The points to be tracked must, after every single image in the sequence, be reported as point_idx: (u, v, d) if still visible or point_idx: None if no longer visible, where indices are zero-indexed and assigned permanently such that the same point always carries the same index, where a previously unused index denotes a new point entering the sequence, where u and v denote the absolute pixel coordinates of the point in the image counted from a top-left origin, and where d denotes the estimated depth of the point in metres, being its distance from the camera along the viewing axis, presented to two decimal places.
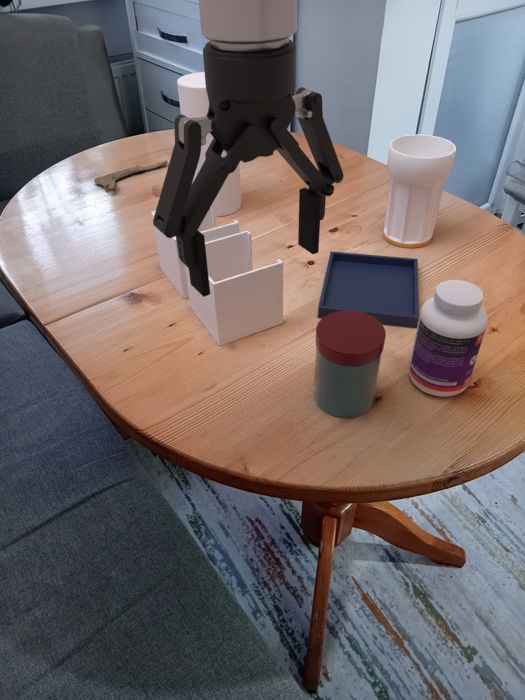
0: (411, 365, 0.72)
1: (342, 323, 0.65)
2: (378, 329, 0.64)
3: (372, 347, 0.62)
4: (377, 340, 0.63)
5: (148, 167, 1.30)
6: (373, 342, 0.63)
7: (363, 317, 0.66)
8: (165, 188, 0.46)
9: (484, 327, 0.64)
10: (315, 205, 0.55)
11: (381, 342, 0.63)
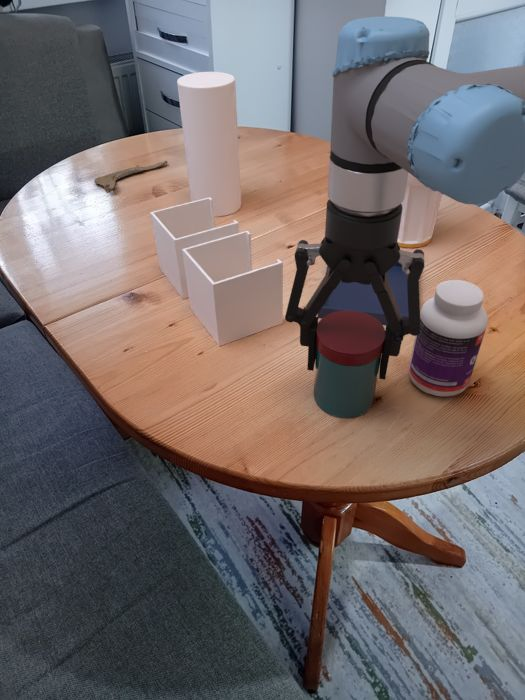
0: (411, 365, 0.72)
1: (342, 323, 0.65)
2: (378, 329, 0.64)
3: (372, 347, 0.62)
4: (377, 340, 0.63)
5: (148, 167, 1.30)
6: (373, 342, 0.63)
7: (363, 317, 0.66)
8: None
9: (484, 327, 0.64)
10: (385, 343, 0.63)
11: (381, 342, 0.63)
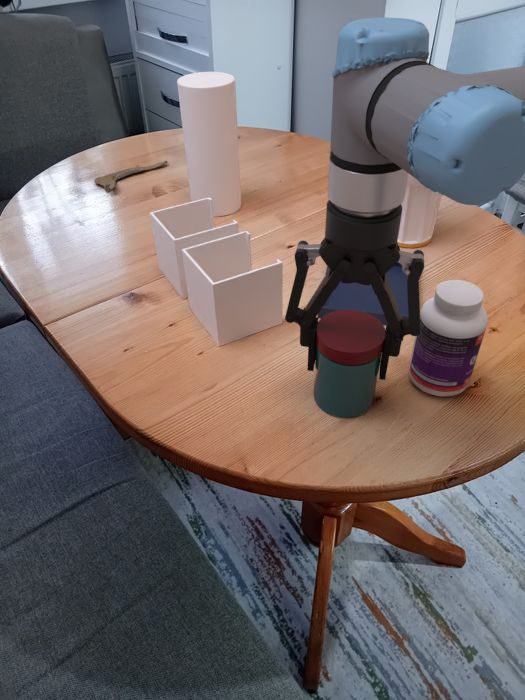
0: (411, 365, 0.72)
1: (340, 335, 0.64)
2: (343, 313, 0.67)
3: (372, 317, 0.66)
4: (360, 314, 0.67)
5: (148, 167, 1.30)
6: (364, 316, 0.66)
7: (325, 321, 0.66)
8: None
9: (484, 327, 0.64)
10: (385, 344, 0.63)
11: (363, 312, 0.67)
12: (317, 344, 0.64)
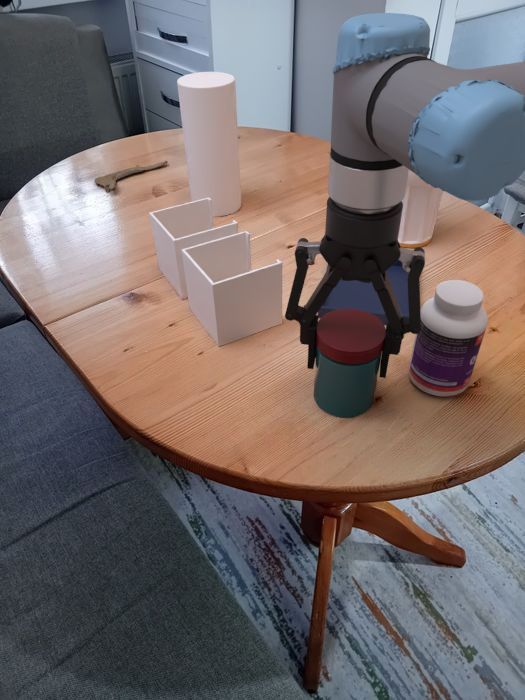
0: (411, 365, 0.72)
1: (360, 335, 0.63)
2: (323, 333, 0.64)
3: (327, 315, 0.66)
4: (323, 322, 0.65)
5: (148, 167, 1.30)
6: (326, 320, 0.66)
7: (341, 345, 0.62)
8: None
9: (484, 327, 0.64)
10: (385, 342, 0.63)
11: (319, 321, 0.66)
12: (365, 359, 0.62)
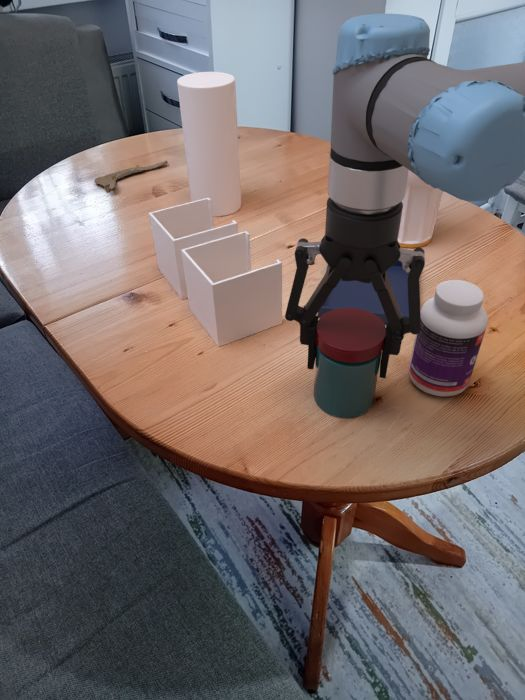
0: (411, 365, 0.72)
1: (360, 322, 0.65)
2: (363, 345, 0.62)
3: (332, 343, 0.62)
4: (344, 346, 0.62)
5: (148, 167, 1.30)
6: (340, 343, 0.62)
7: (378, 334, 0.63)
8: None
9: (484, 327, 0.64)
10: (385, 342, 0.63)
11: (342, 348, 0.61)
12: None
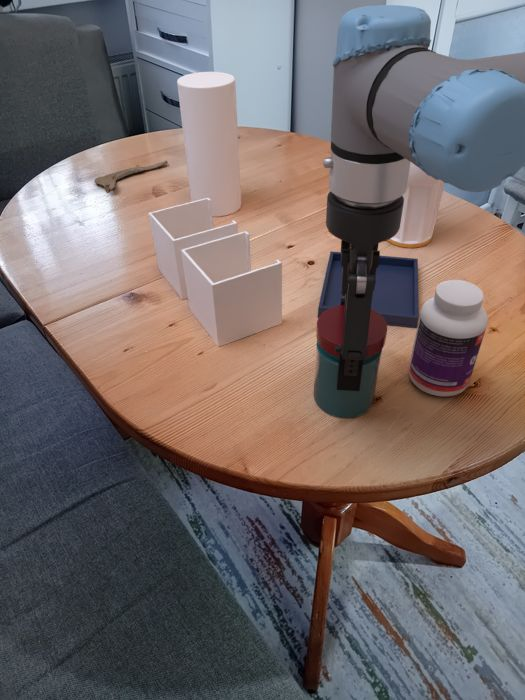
0: (411, 365, 0.72)
1: (340, 319, 0.65)
2: (376, 317, 0.65)
3: (380, 336, 0.62)
4: (381, 328, 0.63)
5: (148, 167, 1.30)
6: (378, 331, 0.63)
7: None
8: (349, 330, 0.55)
9: (484, 327, 0.64)
10: None
11: (386, 329, 0.63)
12: None
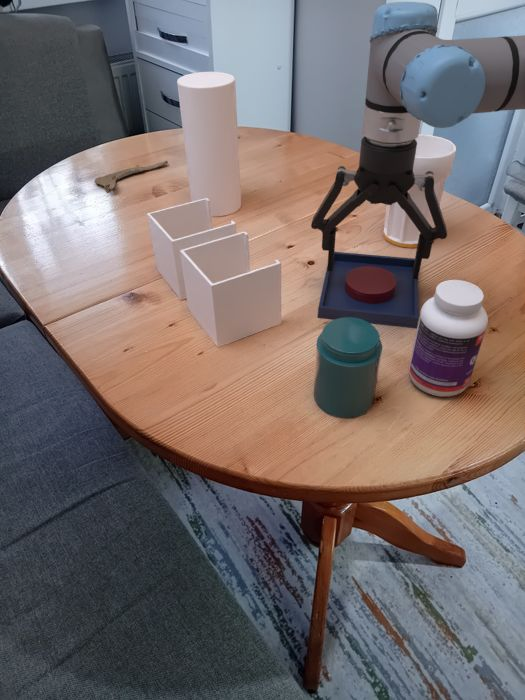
0: (411, 365, 0.72)
1: (364, 283, 0.87)
2: (362, 269, 0.91)
3: (383, 270, 0.90)
4: (374, 268, 0.91)
5: (148, 167, 1.30)
6: (377, 270, 0.90)
7: (351, 275, 0.89)
8: (440, 214, 0.78)
9: (484, 327, 0.64)
10: None
11: (375, 267, 0.91)
12: (348, 292, 0.88)
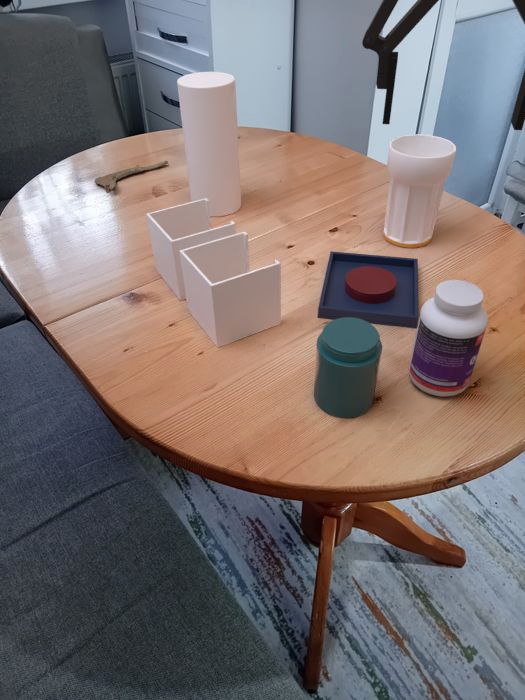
0: (411, 365, 0.72)
1: (364, 283, 0.87)
2: (362, 269, 0.91)
3: (383, 270, 0.90)
4: (374, 268, 0.91)
5: (148, 167, 1.30)
6: (377, 270, 0.90)
7: (351, 275, 0.89)
8: None
9: (484, 327, 0.64)
10: None
11: (375, 267, 0.91)
12: (348, 292, 0.88)
